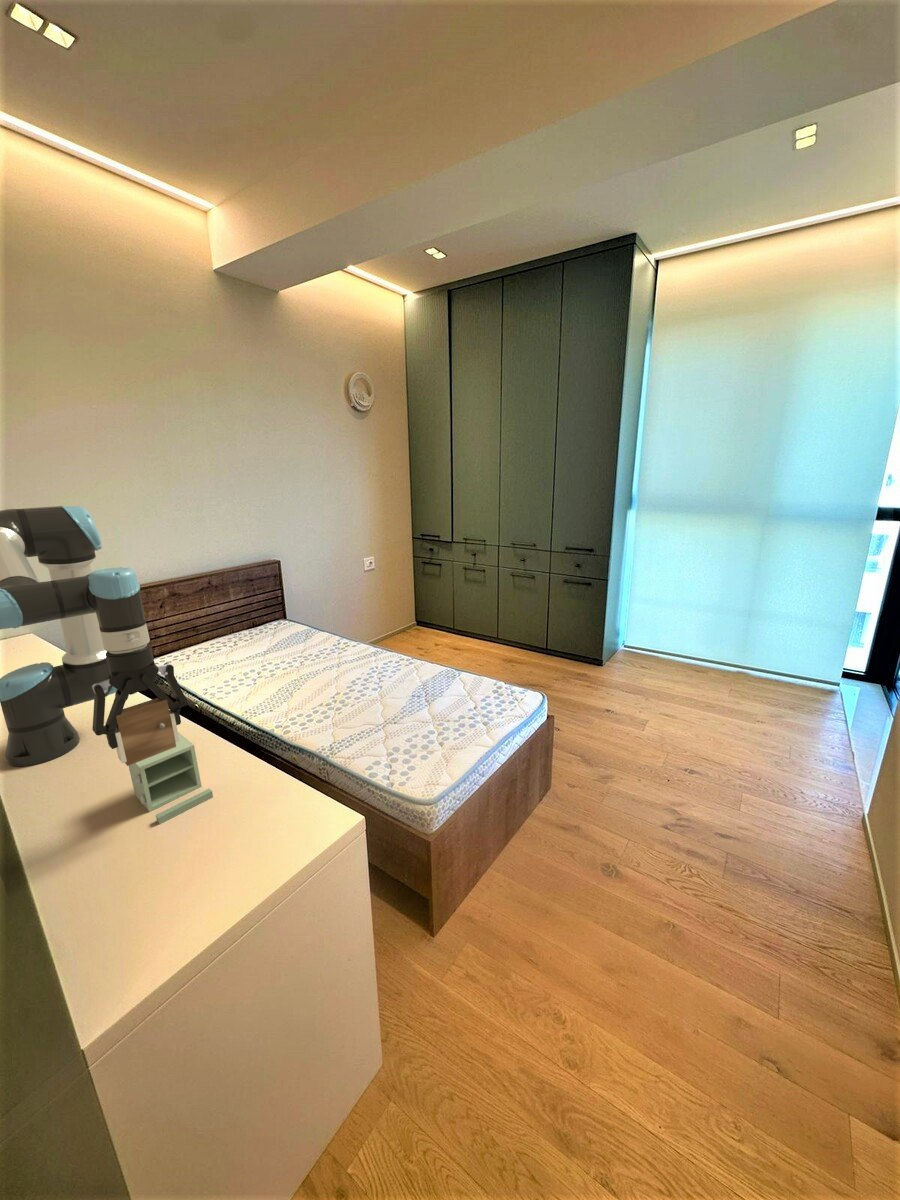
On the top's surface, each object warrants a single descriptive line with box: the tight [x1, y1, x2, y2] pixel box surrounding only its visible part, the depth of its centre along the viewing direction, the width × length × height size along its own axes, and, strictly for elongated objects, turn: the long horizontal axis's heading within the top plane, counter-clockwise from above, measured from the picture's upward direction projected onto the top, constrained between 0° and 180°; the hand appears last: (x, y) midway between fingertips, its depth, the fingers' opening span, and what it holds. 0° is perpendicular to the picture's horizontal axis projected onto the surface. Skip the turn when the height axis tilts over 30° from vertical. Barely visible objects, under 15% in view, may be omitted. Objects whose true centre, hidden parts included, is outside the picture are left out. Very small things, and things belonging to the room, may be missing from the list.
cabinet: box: [128, 731, 214, 825], centre depth 105 cm, size 15×12×11 cm
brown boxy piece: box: [116, 697, 176, 767], centre depth 96 cm, size 4×9×11 cm, turn 138°
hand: (149, 749), depth 97 cm, fingers closed on brown boxy piece, 9 cm apart
